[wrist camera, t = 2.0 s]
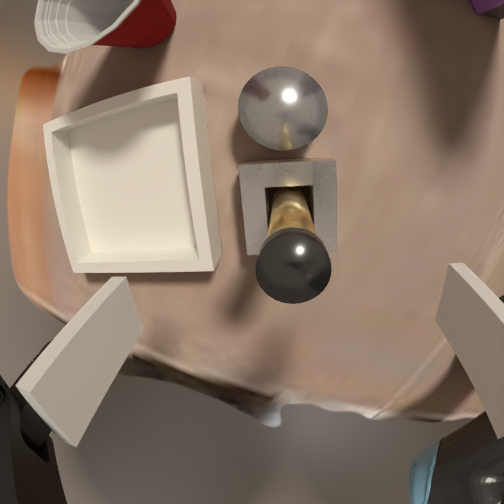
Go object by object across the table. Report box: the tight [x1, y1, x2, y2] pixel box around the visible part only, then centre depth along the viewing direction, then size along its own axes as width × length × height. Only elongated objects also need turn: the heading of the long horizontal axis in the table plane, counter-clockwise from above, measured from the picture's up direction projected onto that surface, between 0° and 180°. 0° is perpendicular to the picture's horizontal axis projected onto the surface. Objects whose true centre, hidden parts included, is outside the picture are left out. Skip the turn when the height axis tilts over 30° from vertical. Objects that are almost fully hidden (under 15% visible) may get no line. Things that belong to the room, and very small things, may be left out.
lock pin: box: [256, 186, 331, 304], centre depth 20 cm, size 4×4×14 cm
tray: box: [43, 77, 223, 273], centre depth 26 cm, size 17×17×4 cm
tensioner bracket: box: [238, 67, 337, 255], centre depth 24 cm, size 16×8×4 cm, turn 5°
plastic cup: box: [34, 0, 176, 54], centre depth 15 cm, size 11×11×12 cm
